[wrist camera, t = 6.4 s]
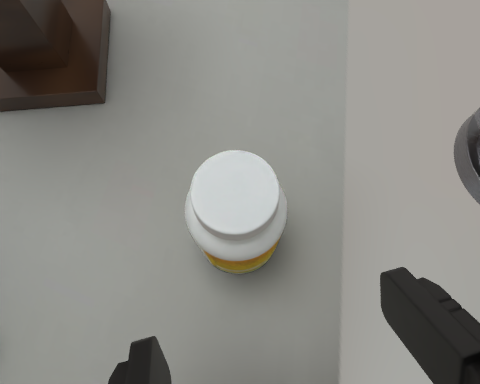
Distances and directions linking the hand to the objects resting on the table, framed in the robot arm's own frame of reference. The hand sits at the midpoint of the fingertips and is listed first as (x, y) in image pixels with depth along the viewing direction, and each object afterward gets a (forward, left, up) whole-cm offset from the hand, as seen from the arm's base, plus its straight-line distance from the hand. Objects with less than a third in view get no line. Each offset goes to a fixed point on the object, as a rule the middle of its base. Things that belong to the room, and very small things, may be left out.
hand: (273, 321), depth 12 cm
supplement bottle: (+1, -6, -11) cm, 13 cm away
